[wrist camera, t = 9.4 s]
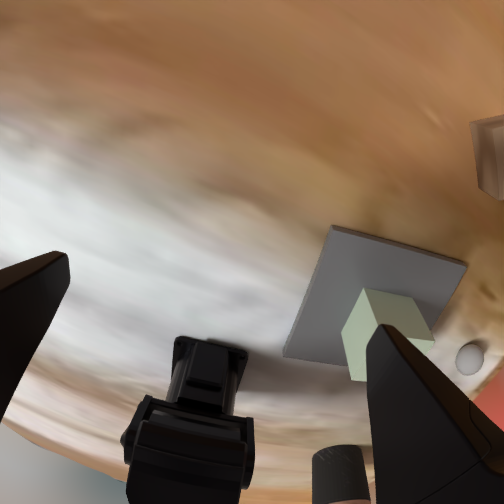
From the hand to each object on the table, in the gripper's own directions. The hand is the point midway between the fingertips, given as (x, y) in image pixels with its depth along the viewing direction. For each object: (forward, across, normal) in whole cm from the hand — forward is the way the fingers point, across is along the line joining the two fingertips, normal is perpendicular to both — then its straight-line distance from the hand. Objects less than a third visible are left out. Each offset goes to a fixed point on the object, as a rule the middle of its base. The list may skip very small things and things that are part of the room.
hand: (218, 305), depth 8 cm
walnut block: (+13, -17, -8) cm, 23 cm away
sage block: (+12, -12, +8) cm, 19 cm away
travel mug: (+13, -20, +34) cm, 42 cm away
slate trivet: (+13, -12, +8) cm, 19 cm away
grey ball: (+11, -25, +11) cm, 30 cm away
